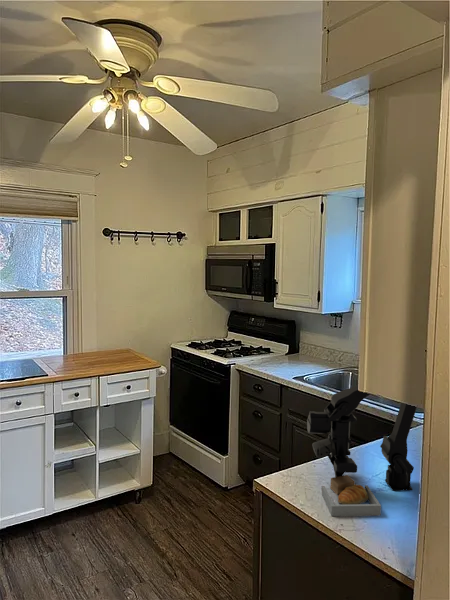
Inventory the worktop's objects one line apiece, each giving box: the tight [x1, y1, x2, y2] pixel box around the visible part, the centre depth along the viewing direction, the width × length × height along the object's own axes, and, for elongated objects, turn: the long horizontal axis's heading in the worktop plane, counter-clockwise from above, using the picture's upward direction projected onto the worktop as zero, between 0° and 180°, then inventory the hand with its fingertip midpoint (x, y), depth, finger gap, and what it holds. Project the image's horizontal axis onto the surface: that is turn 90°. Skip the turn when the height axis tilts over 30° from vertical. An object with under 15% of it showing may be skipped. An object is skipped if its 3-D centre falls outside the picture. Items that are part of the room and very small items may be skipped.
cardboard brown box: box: [330, 474, 355, 496], centre depth 144 cm, size 6×4×4 cm, turn 109°
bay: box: [321, 484, 382, 517], centre depth 136 cm, size 14×11×3 cm
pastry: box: [337, 484, 369, 505], centre depth 138 cm, size 9×7×4 cm
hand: (337, 479), depth 148 cm, fingers closed
